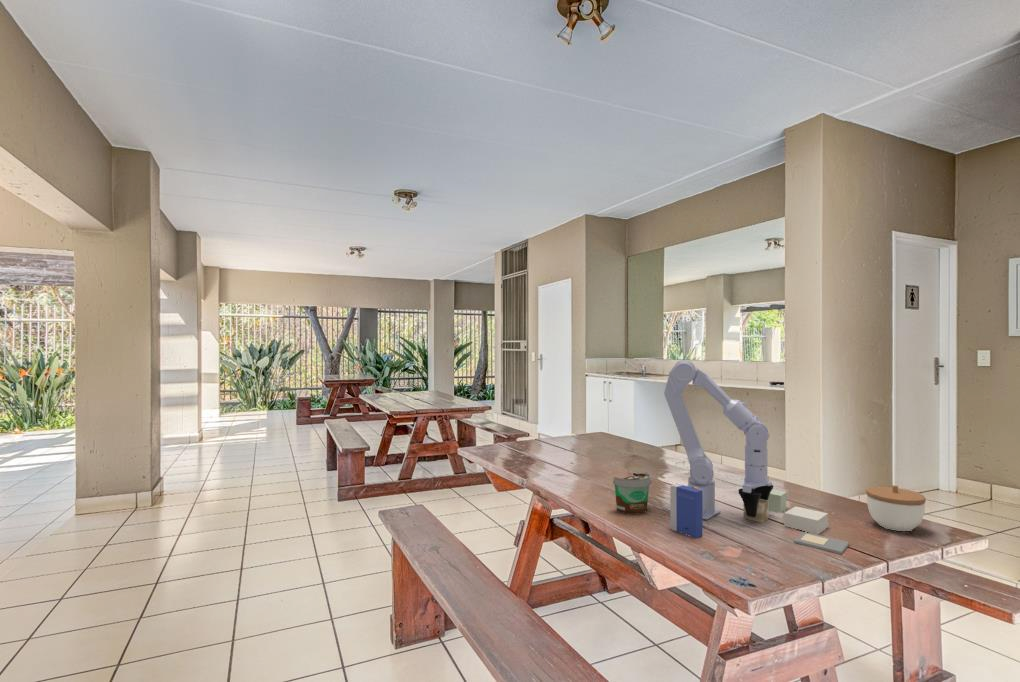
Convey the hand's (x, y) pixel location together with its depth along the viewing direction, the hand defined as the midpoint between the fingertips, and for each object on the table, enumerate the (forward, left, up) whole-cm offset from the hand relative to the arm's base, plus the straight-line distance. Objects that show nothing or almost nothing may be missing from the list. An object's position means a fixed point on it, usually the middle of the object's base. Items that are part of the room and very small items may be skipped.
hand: (756, 513), depth 146 cm
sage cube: (+12, -1, -2) cm, 12 cm away
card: (-8, -18, -1) cm, 20 cm away
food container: (-18, +27, -2) cm, 32 cm away
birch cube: (0, 0, -2) cm, 2 cm away
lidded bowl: (+18, -29, -2) cm, 34 cm away
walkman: (-24, +9, -2) cm, 26 cm away
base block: (+2, -12, -2) cm, 12 cm away
